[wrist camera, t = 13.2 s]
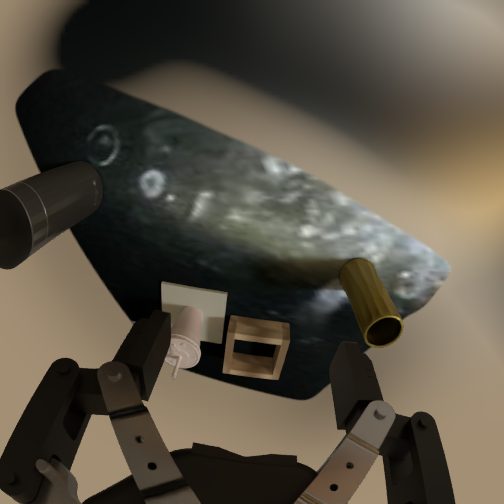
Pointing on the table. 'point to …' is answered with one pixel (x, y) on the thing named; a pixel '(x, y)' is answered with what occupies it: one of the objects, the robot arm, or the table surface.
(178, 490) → the robot arm
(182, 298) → the mat
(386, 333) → the vase
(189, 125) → the table surface
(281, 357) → the sleeve
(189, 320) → the smoothie
